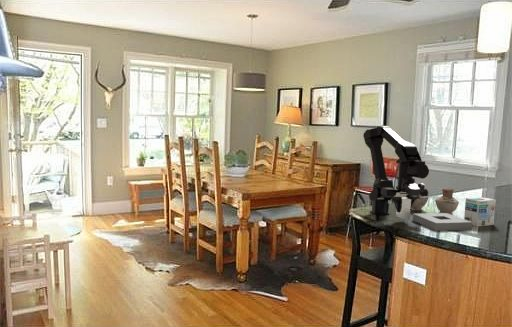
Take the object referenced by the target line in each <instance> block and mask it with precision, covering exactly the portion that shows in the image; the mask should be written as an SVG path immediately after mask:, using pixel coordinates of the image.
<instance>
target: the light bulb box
mask: <svg viewBox="0 0 512 327" xmlns="http://www.w3.org/2000/svg"><path fill="white" fill-rule="evenodd" d="M496 203H497V200H496V199H495V198H494V199H493V198H488V197H484V196H478V197H466V198H465V202H464V204H465V205H464V213H463V214H464V216H463V219H465V220H468V221H470V222H472V227H485V226H493V225H494V224H495V223H494V222H495V212H496Z"/></svg>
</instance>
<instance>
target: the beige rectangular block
mask: <svg viewBox="0 0 512 327" xmlns="http://www.w3.org/2000/svg"><path fill="white" fill-rule="evenodd" d="M401 197H402V199H401V200H400V212H399V213H398V212H397V210H396V212H395V217H397V218H399V219H410V218H411V210H410V208H411V199H409V198H406V197H403V196H401Z"/></svg>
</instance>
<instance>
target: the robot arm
mask: <svg viewBox="0 0 512 327" xmlns="http://www.w3.org/2000/svg"><path fill="white" fill-rule="evenodd" d="M362 135H363V140H364V143H365V145H366V147H368V148H369V150H370V156H371V162H372V166H373V173H374V177H375V178H374V182H373V184H372V191H371V192H370V193H369V194H368V197H369V198H368V199H369V200H371V201H372V202H371V210H369V213H372V214H374V215H376V216H382V215H383V216H384V215H385V216H386V215H388V216H389V215H390V213H389V210H390V204H389V201H390V202H391V201H392V202H393V205H394V207H395V209H396V210H397V212H398V213H399V212H400V200H401V199H402V197H403V196H401V195H405V194H406V198H409V199H411V207H412V205H413V203H414V201H415V200H416V199H417V198H420V197H419V194H420V195H421V196H427V197H429V190H428V189H427V188H425V186H426V184H424V183H423V182H422V183H416V179H415V178H418V179H422V180H424V179H425V178H427V177H428V175H429V173H430V170H429V166H428V165H427V164H426V161H424V160H423V159H422V157H421V155H420V153H419V151H418V148H417V146H416V145H415V144H413V143H411V142H409V141H406V140H404V139H403V138H401V136H399V134H397V133H396V132H395V131H394V130H392V128H391V127H390V126H389V125H380V126H377V127H374V128H369V129H366V130H365V131H364V132H363V134H362ZM384 140H386V142H388V144H389V145H391V146H392V147H393V148H394V153H395V154H396V156H397V158H398V159H397V160H395V163H396V164H398V176H396V180H397V186H395V187H394V183H393V182H394V181H393V179H389V178H388V177H387V172H386V170H387V169H386V166H385V160H384V155H383V151H382V145H383V143H384ZM410 209H411V208H410Z"/></svg>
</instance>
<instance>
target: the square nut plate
mask: <svg viewBox="0 0 512 327" xmlns="http://www.w3.org/2000/svg"><path fill="white" fill-rule="evenodd" d="M412 222H415V223H417V222H418V223H417V224H419V223H420V225H422V226H424V227H426V226H427V228H428V227H429V229H431V230H432V231H433V230H434V231H464V230H465V231H470V230H473V225H472V222H470V221H468V220H465V219H464V218H462V217H458V216H456V215H454V214H453V215H451V214H448V213H439V212H436V213H435V212H433V213H432V212H431V213H428V212H427V213H413V214H412Z"/></svg>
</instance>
